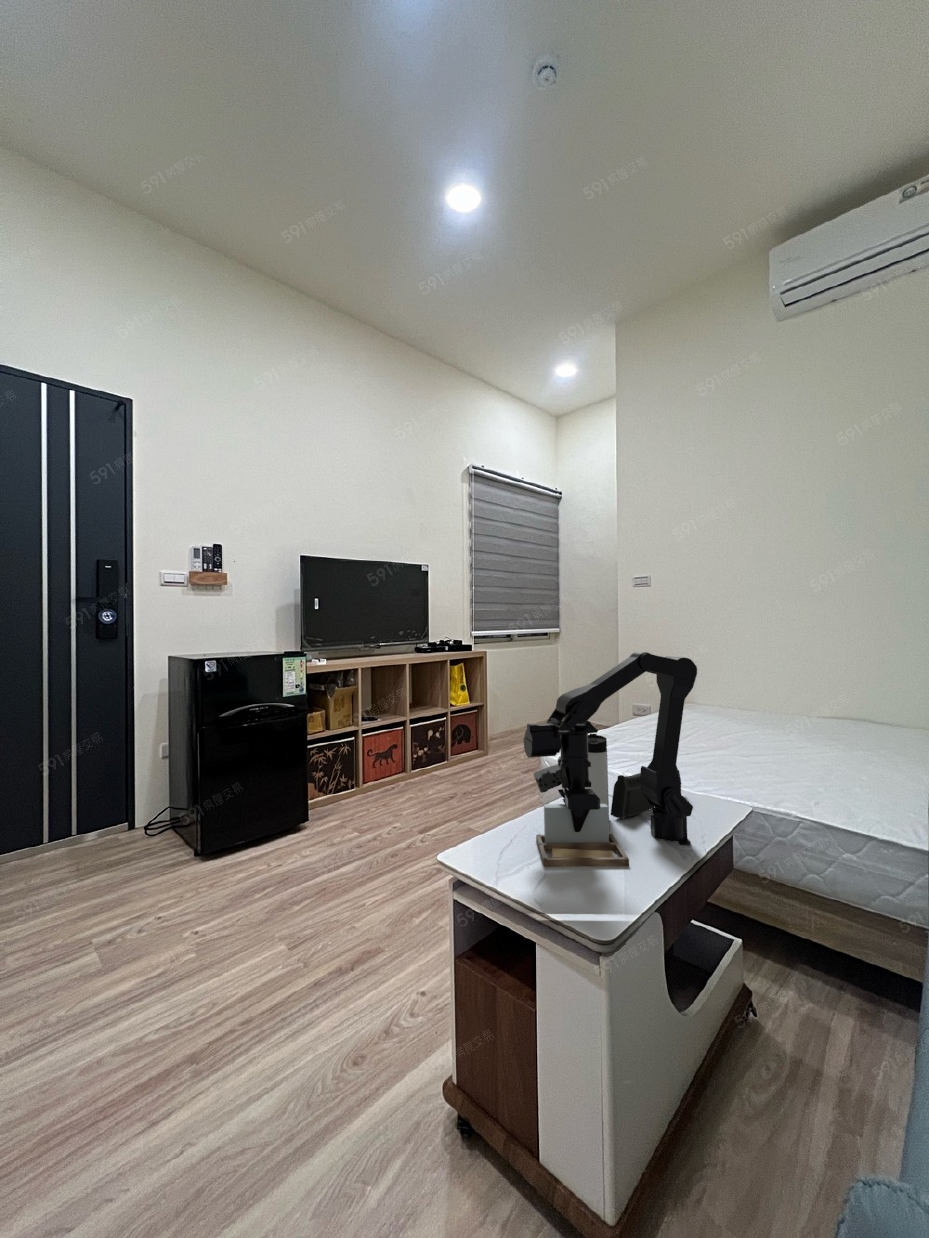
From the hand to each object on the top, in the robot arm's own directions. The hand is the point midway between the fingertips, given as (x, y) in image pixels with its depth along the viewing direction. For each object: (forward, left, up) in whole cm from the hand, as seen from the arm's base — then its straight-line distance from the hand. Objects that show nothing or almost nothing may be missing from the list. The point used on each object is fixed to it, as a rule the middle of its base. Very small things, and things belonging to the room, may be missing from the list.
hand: (576, 829), depth 106 cm
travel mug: (-8, -16, -4) cm, 18 cm away
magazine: (-23, -25, -4) cm, 35 cm away
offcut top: (0, +5, -4) cm, 7 cm away
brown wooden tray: (0, +3, -4) cm, 5 cm away
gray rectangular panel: (0, 0, -4) cm, 4 cm away
